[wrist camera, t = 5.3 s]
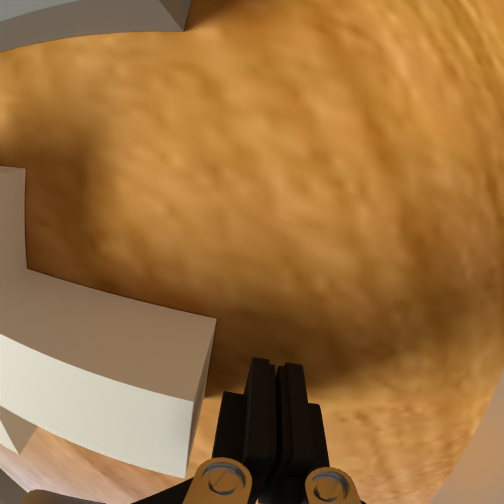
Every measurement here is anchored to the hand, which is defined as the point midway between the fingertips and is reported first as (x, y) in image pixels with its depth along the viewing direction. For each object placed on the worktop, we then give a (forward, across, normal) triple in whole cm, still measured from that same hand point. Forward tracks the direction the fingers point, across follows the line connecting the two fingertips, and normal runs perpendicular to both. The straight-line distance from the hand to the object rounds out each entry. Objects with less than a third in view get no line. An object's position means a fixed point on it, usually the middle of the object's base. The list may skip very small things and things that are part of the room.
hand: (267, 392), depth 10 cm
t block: (+1, +8, 0) cm, 8 cm away
